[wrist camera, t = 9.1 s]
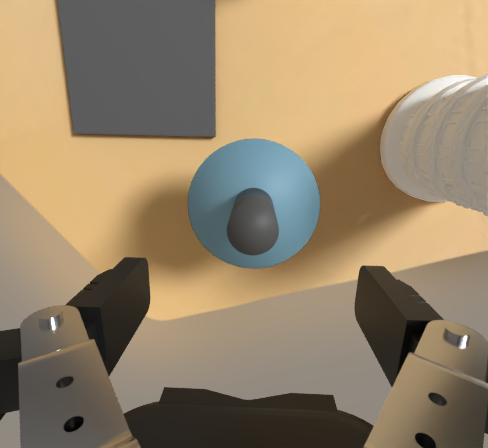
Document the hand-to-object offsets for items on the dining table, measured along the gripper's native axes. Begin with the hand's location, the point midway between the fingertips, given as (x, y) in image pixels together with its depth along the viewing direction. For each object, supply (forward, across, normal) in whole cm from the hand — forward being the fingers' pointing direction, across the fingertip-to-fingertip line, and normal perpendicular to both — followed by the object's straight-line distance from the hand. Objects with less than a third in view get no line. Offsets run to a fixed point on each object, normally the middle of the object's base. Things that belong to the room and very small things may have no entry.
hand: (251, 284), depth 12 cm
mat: (+22, +11, -12) cm, 27 cm away
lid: (+14, 0, 0) cm, 14 cm away
